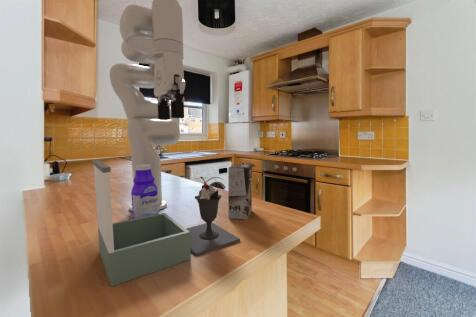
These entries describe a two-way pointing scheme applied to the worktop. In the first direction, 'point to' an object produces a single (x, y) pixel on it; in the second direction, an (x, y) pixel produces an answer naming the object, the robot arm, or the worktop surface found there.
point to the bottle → (144, 193)
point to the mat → (204, 245)
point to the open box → (135, 237)
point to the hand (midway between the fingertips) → (170, 118)
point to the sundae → (208, 209)
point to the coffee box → (240, 191)
